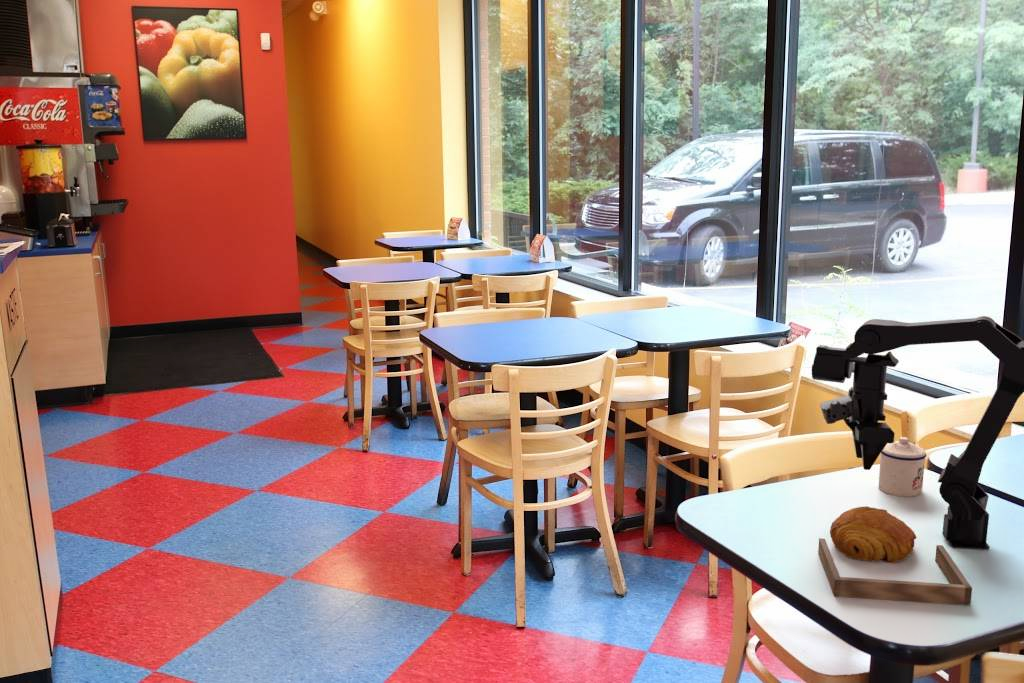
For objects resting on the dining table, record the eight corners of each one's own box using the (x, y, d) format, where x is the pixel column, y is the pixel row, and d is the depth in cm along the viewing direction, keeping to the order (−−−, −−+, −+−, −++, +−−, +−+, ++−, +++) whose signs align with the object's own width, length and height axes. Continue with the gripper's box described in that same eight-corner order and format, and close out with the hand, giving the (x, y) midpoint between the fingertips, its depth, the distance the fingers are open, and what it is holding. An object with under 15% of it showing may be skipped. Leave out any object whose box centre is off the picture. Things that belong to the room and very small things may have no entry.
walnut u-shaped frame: (941, 560, 159) (942, 545, 158) (970, 605, 144) (972, 588, 143) (818, 553, 162) (819, 538, 162) (833, 596, 147) (835, 579, 146)
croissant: (818, 561, 164) (816, 523, 162) (850, 523, 175) (849, 487, 173) (899, 583, 155) (899, 542, 153) (927, 541, 166) (928, 503, 164)
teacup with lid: (921, 500, 186) (926, 447, 184) (874, 493, 190) (878, 441, 188) (925, 481, 196) (929, 431, 194) (880, 475, 201) (884, 425, 198)
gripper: (817, 372, 181) (812, 446, 184) (833, 397, 163) (828, 478, 166) (875, 374, 179) (869, 448, 182) (898, 399, 161) (891, 481, 164)
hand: (863, 463), depth 174 cm, fingers open, 6 cm apart
